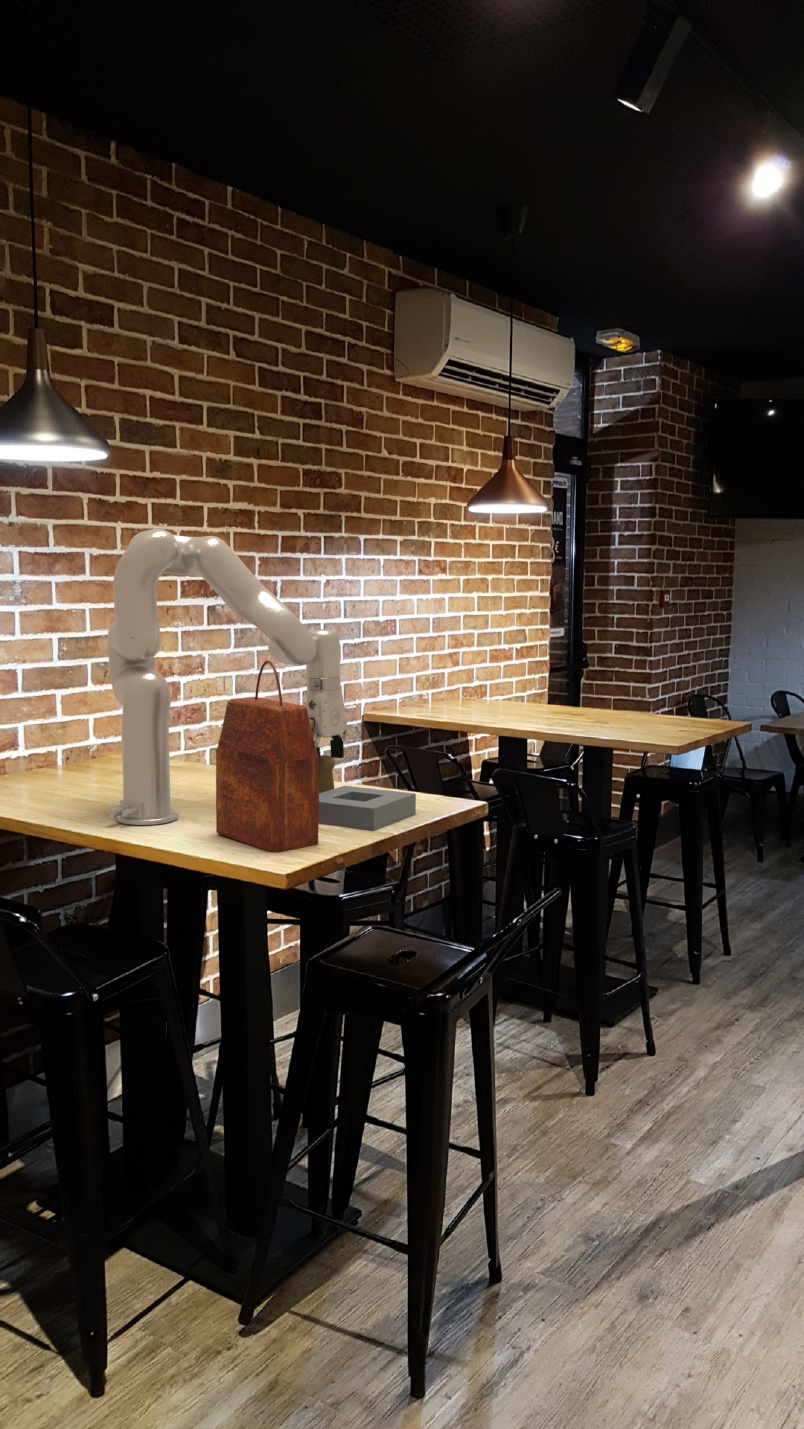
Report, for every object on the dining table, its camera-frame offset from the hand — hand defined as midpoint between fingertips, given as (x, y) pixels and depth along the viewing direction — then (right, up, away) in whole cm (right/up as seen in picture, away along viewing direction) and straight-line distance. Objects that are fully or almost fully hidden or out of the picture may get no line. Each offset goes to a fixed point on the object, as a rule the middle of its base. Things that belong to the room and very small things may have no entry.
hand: (325, 761), depth 237 cm
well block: (+8, -11, -13) cm, 19 cm away
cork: (-1, -10, +1) cm, 10 cm away
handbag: (-9, -14, -33) cm, 37 cm away
